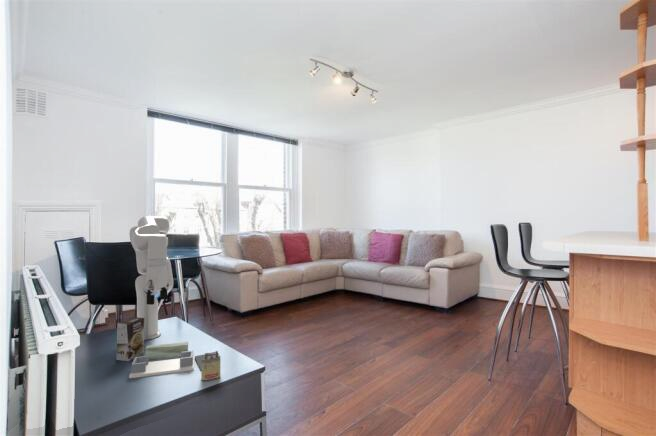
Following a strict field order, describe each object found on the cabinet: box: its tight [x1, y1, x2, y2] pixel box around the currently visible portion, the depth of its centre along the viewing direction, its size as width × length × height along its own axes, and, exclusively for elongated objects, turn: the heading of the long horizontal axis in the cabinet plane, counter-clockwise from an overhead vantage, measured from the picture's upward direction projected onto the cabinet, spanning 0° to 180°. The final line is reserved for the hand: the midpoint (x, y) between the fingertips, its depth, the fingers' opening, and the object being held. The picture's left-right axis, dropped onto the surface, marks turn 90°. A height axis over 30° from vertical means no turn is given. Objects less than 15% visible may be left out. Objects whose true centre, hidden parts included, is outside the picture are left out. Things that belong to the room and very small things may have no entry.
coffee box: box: [116, 316, 145, 362], centre depth 150 cm, size 9×6×16 cm
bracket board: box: [128, 350, 195, 379], centre depth 139 cm, size 11×23×4 cm, turn 110°
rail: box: [144, 341, 189, 361], centre depth 151 cm, size 4×17×5 cm, turn 109°
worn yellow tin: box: [200, 350, 222, 381], centre depth 132 cm, size 7×4×10 cm, turn 119°
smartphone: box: [194, 353, 205, 372], centre depth 145 cm, size 7×1×15 cm
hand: (157, 301), depth 150 cm, fingers open, 9 cm apart
